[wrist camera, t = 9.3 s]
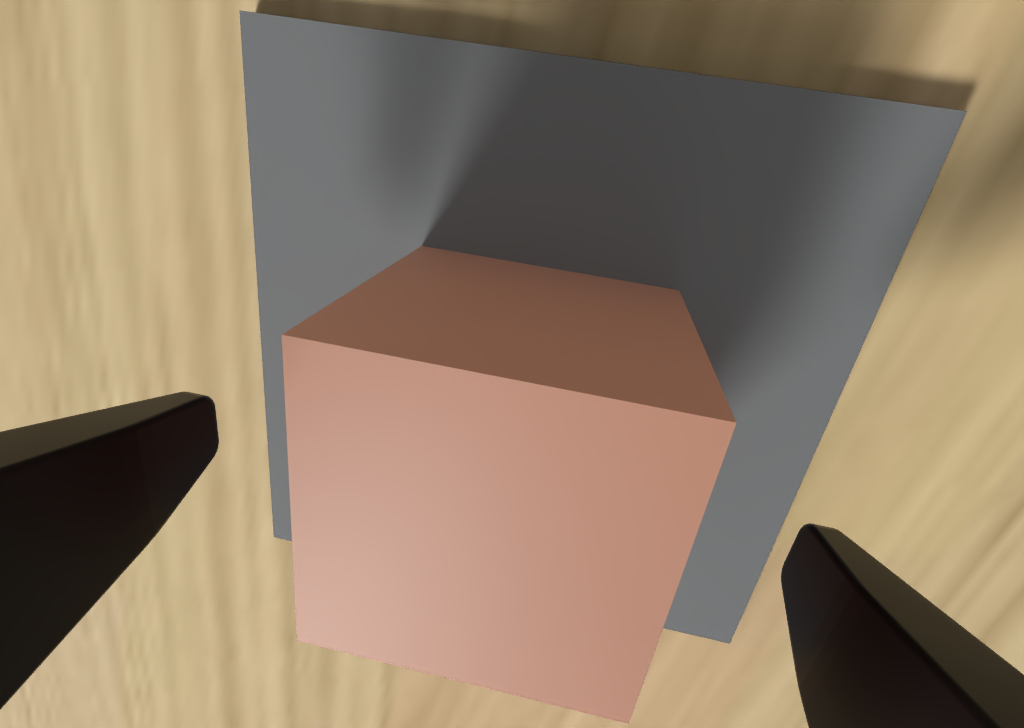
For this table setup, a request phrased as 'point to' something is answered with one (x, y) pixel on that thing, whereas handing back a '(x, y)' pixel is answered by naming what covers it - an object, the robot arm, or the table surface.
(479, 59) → the mat
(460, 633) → the cube
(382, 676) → the table surface
